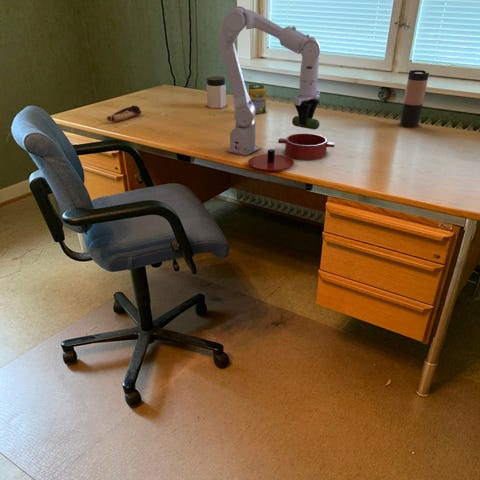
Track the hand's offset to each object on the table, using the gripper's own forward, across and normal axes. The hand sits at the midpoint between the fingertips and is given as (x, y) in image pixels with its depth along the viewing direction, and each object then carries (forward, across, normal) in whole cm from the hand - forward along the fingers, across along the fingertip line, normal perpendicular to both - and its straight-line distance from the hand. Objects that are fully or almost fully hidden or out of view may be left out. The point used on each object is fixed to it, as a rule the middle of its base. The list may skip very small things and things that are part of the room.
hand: (305, 123), depth 170 cm
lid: (+10, -18, +3) cm, 20 cm away
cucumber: (+2, 0, 0) cm, 2 cm away
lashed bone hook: (+10, -5, +87) cm, 88 cm away
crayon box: (+10, +36, +44) cm, 57 cm away
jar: (+10, +35, +66) cm, 75 cm away
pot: (+10, -1, -1) cm, 10 cm away
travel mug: (+10, +54, -19) cm, 59 cm away
